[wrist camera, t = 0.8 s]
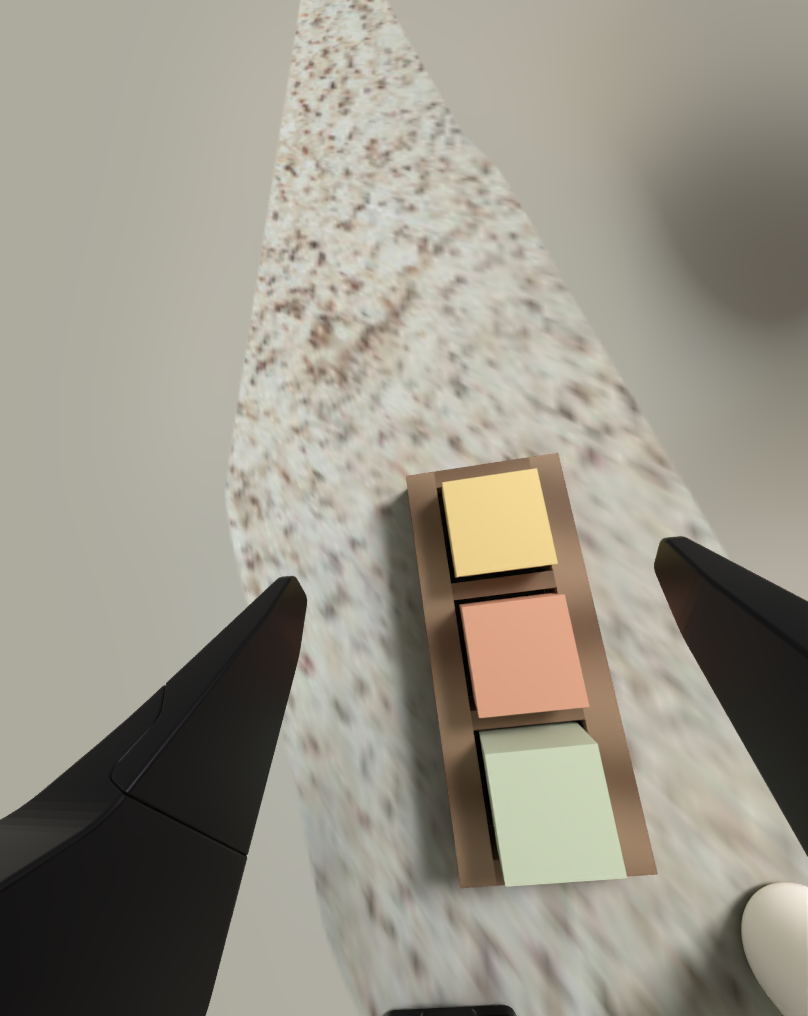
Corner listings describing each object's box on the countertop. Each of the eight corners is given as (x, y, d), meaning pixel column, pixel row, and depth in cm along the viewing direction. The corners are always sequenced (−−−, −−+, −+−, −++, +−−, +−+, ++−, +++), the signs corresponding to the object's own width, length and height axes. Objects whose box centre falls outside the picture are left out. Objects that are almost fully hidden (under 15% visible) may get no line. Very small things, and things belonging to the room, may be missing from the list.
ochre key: (542, 566, 20) (557, 563, 18) (454, 577, 21) (457, 576, 18) (525, 482, 21) (537, 468, 19) (442, 494, 22) (442, 482, 19)
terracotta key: (568, 689, 19) (589, 706, 16) (474, 700, 19) (479, 717, 17) (548, 593, 20) (564, 594, 17) (459, 604, 20) (462, 607, 18)
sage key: (599, 834, 17) (627, 878, 15) (495, 842, 18) (505, 886, 15) (575, 721, 19) (597, 743, 16) (478, 731, 19) (485, 754, 16)
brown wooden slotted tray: (629, 836, 19) (657, 874, 16) (458, 850, 19) (460, 888, 17) (545, 466, 23) (558, 452, 21) (409, 487, 24) (405, 475, 22)
